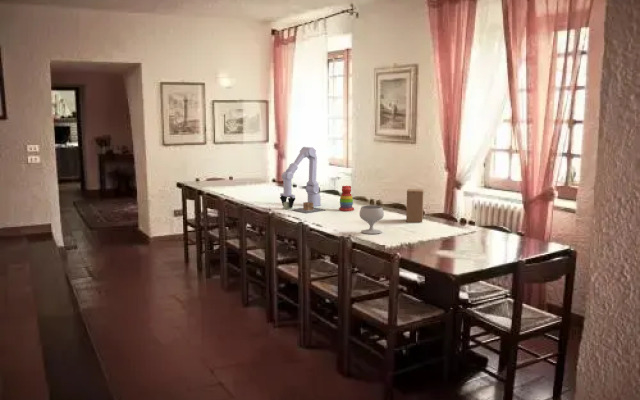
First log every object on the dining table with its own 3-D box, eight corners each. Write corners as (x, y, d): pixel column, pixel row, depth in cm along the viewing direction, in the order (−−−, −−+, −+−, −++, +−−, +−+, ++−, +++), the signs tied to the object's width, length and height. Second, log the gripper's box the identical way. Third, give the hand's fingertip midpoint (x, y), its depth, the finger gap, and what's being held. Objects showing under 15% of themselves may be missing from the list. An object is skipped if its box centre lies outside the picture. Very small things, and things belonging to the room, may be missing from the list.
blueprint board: (310, 207, 412) (310, 206, 412) (325, 210, 401) (325, 209, 401) (291, 210, 400) (291, 209, 400) (306, 213, 389) (306, 212, 389)
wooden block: (422, 222, 355) (423, 191, 352) (406, 222, 357) (406, 190, 354) (422, 219, 365) (423, 189, 361) (407, 219, 367) (407, 188, 363)
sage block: (288, 208, 410) (288, 201, 409) (291, 209, 407) (291, 202, 406) (283, 209, 407) (283, 202, 406) (287, 209, 404) (287, 202, 403)
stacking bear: (354, 209, 405) (354, 184, 402) (353, 211, 395) (353, 186, 392) (339, 209, 406) (339, 184, 403) (338, 211, 396) (338, 186, 393)
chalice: (362, 235, 318) (363, 209, 316) (356, 230, 332) (356, 205, 330) (386, 234, 321) (387, 208, 319) (379, 229, 335) (379, 204, 332)
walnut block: (308, 208, 404) (308, 201, 403) (313, 209, 400) (313, 202, 399) (303, 209, 401) (303, 202, 400) (307, 210, 397) (307, 203, 396)
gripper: (276, 187, 407) (277, 206, 409) (289, 189, 397) (289, 208, 399) (284, 187, 412) (284, 205, 414) (297, 188, 401) (297, 207, 403)
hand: (287, 206), depth 407 cm, fingers open, 7 cm apart
